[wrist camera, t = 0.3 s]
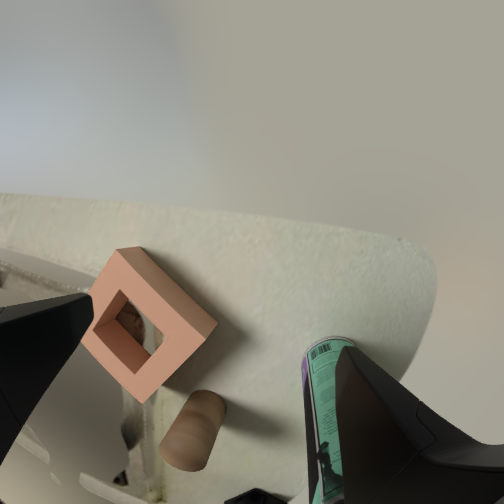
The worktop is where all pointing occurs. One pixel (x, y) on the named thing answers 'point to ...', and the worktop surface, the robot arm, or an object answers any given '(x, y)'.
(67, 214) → the worktop surface
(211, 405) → the peg
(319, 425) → the spray can
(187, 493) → the worktop surface
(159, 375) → the socket block
